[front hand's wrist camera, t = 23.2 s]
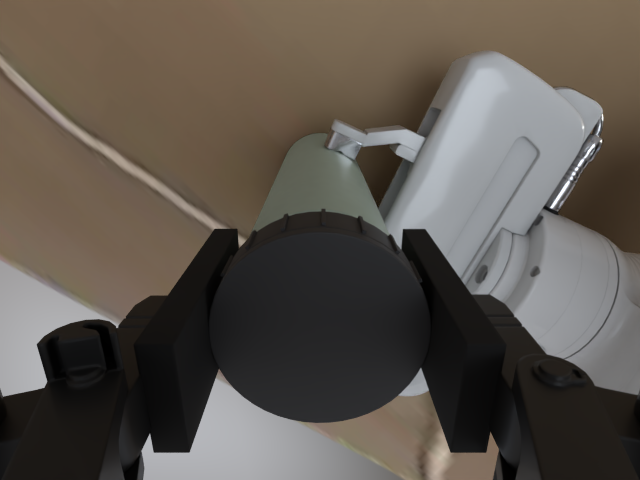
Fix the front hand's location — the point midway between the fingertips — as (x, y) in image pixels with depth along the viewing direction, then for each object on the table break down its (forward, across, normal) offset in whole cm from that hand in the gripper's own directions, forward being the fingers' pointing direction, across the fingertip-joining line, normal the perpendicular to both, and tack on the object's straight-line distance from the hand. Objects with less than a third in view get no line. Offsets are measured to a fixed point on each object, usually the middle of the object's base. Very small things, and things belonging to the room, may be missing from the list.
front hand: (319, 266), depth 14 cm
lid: (-4, 0, 0) cm, 4 cm away
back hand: (+10, -1, 0) cm, 10 cm away
